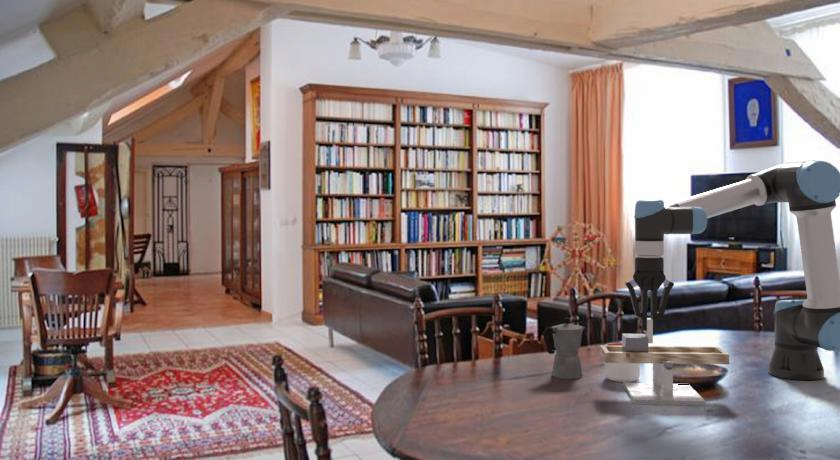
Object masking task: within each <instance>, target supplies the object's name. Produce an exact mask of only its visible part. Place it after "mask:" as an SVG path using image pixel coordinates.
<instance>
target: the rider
mask: <svg viewBox="0 0 840 460" xmlns="http://www.w3.org/2000/svg"><path fill="white" fill-rule="evenodd" d="M621 343H622V352H648V346H649V343H648V337H647V336H646V335H645V333H621Z"/></svg>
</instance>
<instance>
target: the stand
mask: <svg viewBox="0 0 840 460" xmlns="http://www.w3.org/2000/svg"><path fill="white" fill-rule="evenodd" d="M678 384H679V383H674V364H673V361H672V360H662V364H659V363H652V382H623V388H624V390H625V392H627V394H628V397H629V398H630V399H631V401H632V402H633V404H634V405H656V406H657V405H662V406H694V407H695V406H697V407H698V406H699V407H700V406H701V407H702V406H703V407H706V406H707V405H706V400H705V399H704V397H702V396H701V395H700V394H699V393H698V392H697V391H696V390H695V389H694V388H693V387H692V386H691V385H690V384H689V385H678Z"/></svg>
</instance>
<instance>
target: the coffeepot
mask: <svg viewBox="0 0 840 460" xmlns="http://www.w3.org/2000/svg"><path fill="white" fill-rule="evenodd" d="M563 320H564V323H561V324H557V325H553V326H547V327H546V328H545V329H544V331H543V332H542V337H543V339H544V340H543V341H544V343H545V347H546V350H547V354H549V355H553V354H554V358H553V359H554V360H553V364H552V372H551V376H553V378H557V379H559V380H560V379H562V380H578V379H580V378H582V377H583V370H582V364H581V360H580V356H579V350H580V348H581V344H582V343H581V342H582V336H583V331H584V330H585V328H586V327H585V326H582V325H577V324H572V323H570V317H564V319H563ZM549 334H552V338H553V344H554V348H555V350H552V344H551V342H550V336H549Z"/></svg>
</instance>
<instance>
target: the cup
mask: <svg viewBox="0 0 840 460" xmlns="http://www.w3.org/2000/svg"><path fill="white" fill-rule="evenodd" d="M620 345H622V342H613V343H612V342H611V343H607V344H605V345H604V346H620ZM640 365H641V363H605V362H604V376H605V377H606V378H607V379H608V380H609V381H613V382H618V383H635V382H637V381H638V380H639V379H640V374H641V373H640V372H641V371H640V370H641V369H640V368H641V366H640Z"/></svg>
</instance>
